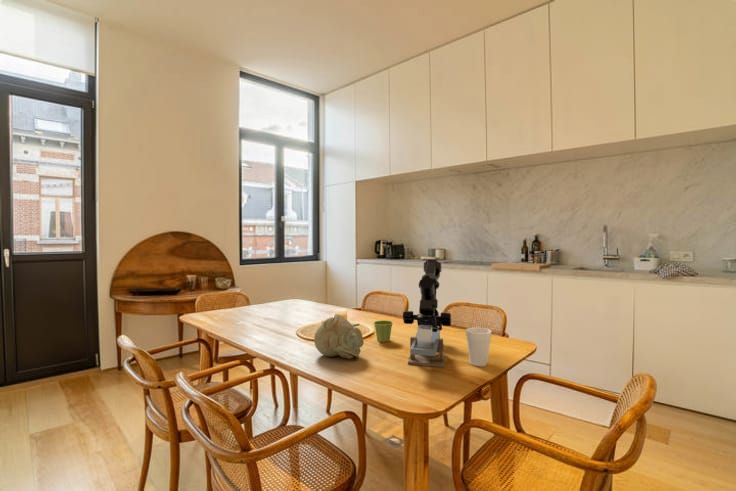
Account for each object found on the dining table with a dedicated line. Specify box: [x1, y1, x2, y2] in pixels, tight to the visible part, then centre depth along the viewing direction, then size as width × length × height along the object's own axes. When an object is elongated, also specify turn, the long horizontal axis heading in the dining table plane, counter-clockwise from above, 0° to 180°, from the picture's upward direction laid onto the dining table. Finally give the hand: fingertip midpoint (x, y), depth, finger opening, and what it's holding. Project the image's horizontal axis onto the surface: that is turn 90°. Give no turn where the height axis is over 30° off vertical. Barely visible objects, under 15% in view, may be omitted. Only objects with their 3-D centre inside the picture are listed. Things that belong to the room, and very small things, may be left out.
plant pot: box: [373, 320, 394, 343], centre depth 176 cm, size 9×9×9 cm
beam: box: [409, 330, 441, 357], centre depth 144 cm, size 28×9×8 cm, turn 166°
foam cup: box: [465, 326, 492, 367], centre depth 143 cm, size 10×9×13 cm
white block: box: [416, 325, 432, 349], centre depth 137 cm, size 6×5×7 cm
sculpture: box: [313, 313, 365, 360], centre depth 154 cm, size 18×20×20 cm
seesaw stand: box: [407, 336, 446, 368], centre depth 145 cm, size 8×14×10 cm, turn 76°
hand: (425, 337), depth 140 cm, fingers closed, pressing on white block
